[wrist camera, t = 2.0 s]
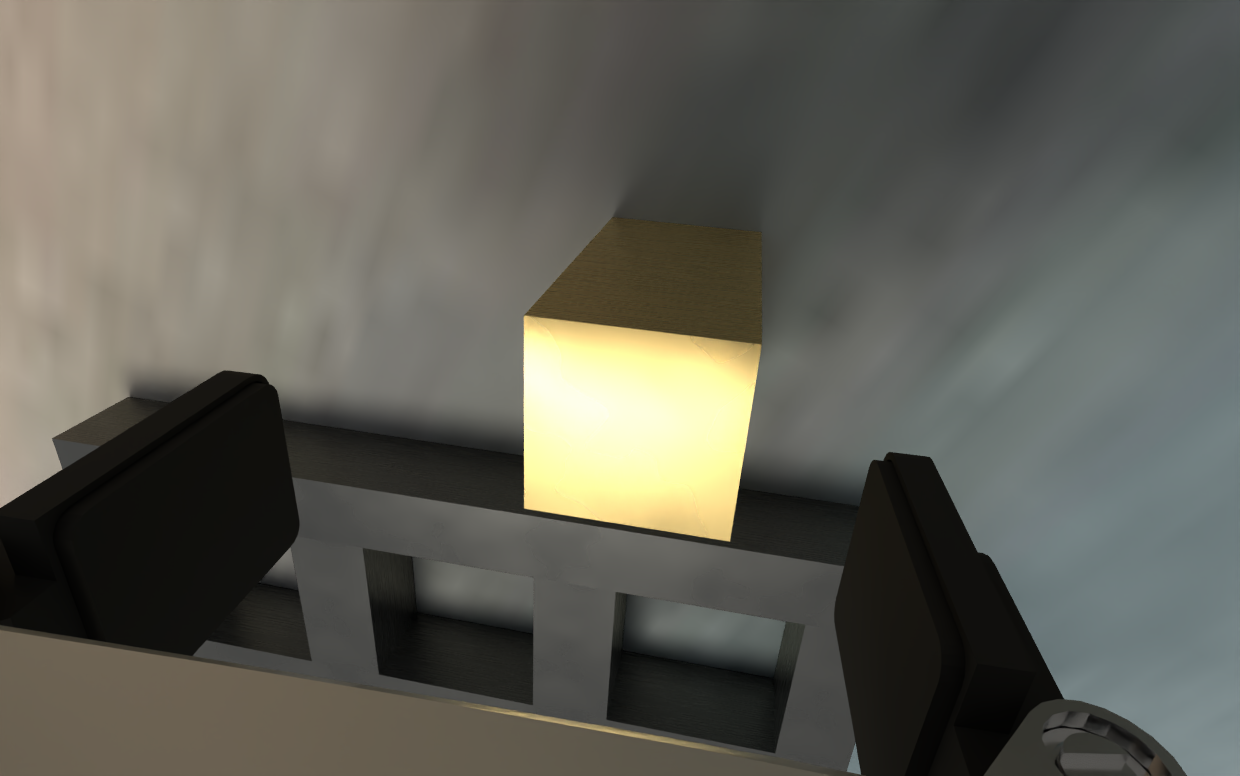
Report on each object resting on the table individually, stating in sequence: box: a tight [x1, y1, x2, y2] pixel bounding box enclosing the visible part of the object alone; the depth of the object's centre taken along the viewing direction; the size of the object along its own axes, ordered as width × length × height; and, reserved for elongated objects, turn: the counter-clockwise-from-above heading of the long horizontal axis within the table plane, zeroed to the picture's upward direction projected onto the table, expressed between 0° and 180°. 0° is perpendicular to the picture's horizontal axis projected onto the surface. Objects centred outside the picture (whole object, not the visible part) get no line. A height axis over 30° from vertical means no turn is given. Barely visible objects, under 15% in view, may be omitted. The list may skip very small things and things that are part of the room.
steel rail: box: [52, 397, 859, 772], centre depth 24 cm, size 26×10×3 cm, turn 87°
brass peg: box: [524, 217, 762, 542], centre depth 16 cm, size 4×4×8 cm
